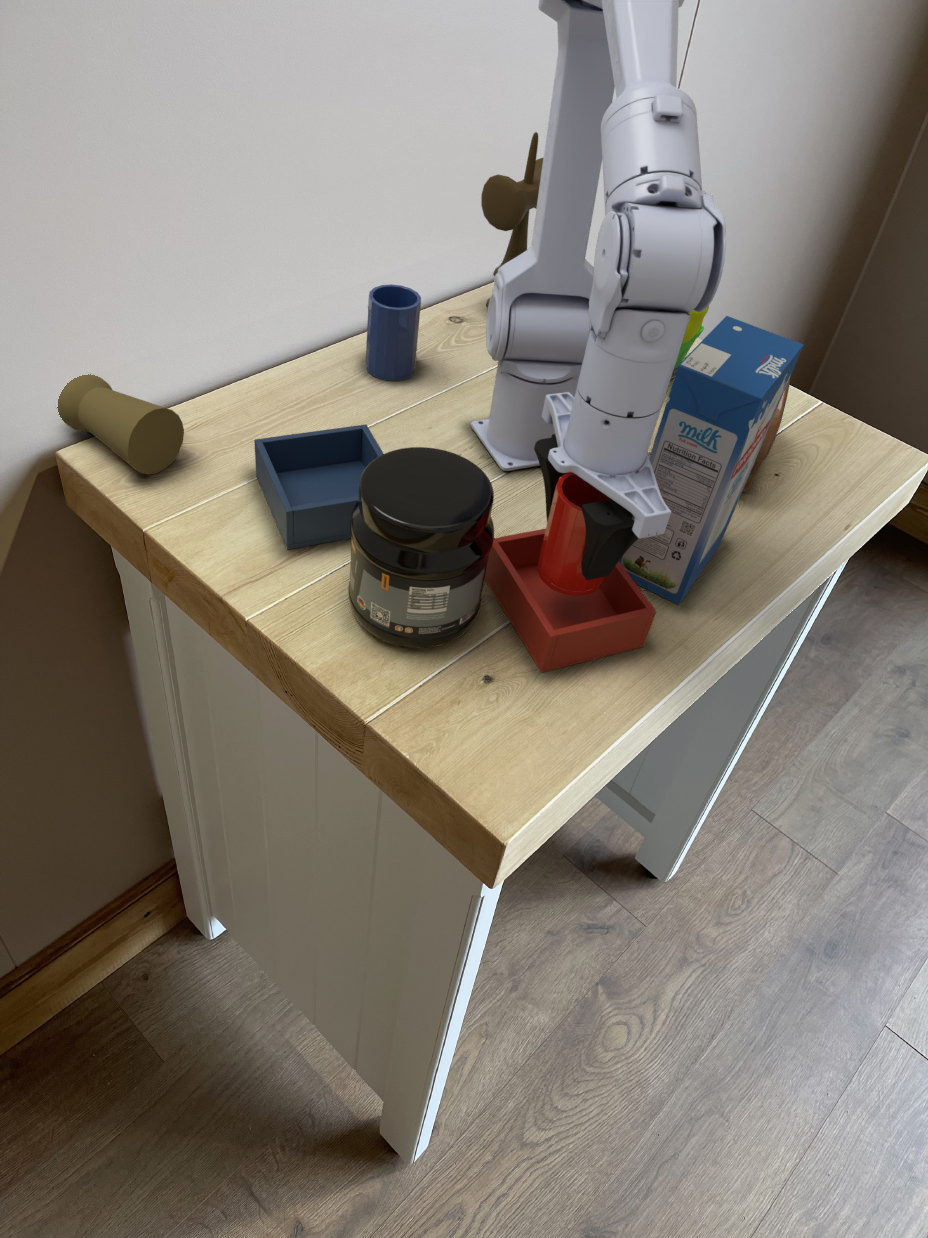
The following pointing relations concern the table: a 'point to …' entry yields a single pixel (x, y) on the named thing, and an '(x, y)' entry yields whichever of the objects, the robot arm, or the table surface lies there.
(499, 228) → the kendama
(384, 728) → the table surface
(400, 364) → the blue cup
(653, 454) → the milk carton
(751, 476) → the tin
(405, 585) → the supplement container
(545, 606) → the red bin
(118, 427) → the olive brown flared cylinder
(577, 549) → the red cup
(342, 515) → the blue bin
